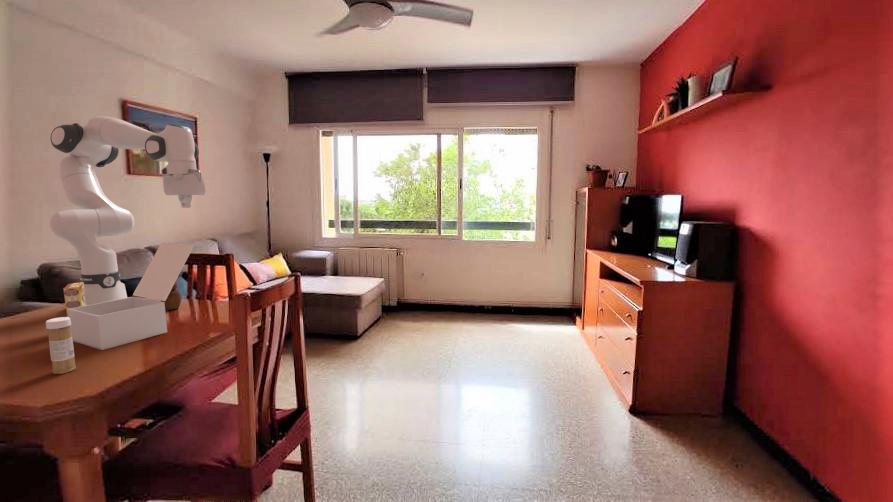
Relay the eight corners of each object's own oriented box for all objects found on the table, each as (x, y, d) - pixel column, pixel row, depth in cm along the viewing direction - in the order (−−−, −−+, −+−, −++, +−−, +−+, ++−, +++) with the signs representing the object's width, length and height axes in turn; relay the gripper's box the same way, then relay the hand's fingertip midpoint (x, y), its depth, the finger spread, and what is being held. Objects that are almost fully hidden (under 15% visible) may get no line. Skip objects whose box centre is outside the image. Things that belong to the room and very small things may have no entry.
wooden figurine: (158, 310, 166) (154, 272, 165) (169, 306, 172) (166, 269, 170) (173, 311, 165) (170, 272, 163) (185, 307, 171) (181, 269, 169)
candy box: (86, 333, 140) (80, 286, 138) (68, 335, 137) (62, 288, 135) (89, 326, 147) (84, 281, 145) (73, 328, 145) (67, 283, 143)
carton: (71, 340, 132) (67, 309, 131) (136, 325, 148) (133, 296, 147) (101, 350, 124) (98, 316, 122) (167, 332, 139) (164, 302, 138)
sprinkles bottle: (63, 367, 111) (57, 316, 110) (81, 367, 111) (75, 316, 109) (47, 374, 107) (40, 321, 105) (65, 374, 107) (58, 321, 105)
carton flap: (161, 242, 154) (163, 243, 154) (132, 295, 146) (134, 295, 147) (192, 244, 145) (194, 245, 146) (163, 300, 138) (165, 301, 138)
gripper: (208, 169, 158) (211, 207, 159) (175, 171, 167) (178, 207, 169) (191, 168, 152) (194, 208, 154) (158, 170, 162) (161, 207, 164)
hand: (186, 207), depth 162 cm, fingers closed
